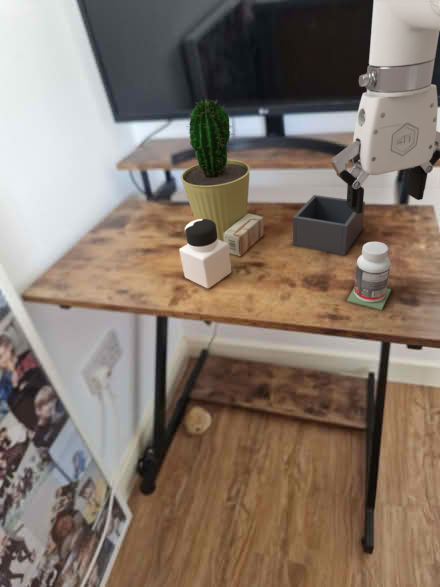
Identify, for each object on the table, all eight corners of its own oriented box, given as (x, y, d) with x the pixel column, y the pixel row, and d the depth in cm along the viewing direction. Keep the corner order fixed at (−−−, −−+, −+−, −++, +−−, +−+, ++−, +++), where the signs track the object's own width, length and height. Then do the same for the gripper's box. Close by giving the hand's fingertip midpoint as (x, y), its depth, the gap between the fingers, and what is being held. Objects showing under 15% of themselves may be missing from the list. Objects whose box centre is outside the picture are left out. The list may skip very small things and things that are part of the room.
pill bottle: (354, 283, 75) (359, 238, 69) (385, 286, 73) (393, 240, 67) (352, 301, 71) (357, 254, 65) (385, 305, 69) (393, 257, 63)
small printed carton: (239, 237, 85) (263, 215, 91) (222, 233, 87) (246, 212, 93) (241, 257, 88) (264, 235, 94) (224, 253, 90) (248, 231, 96)
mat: (390, 290, 73) (391, 288, 73) (381, 310, 69) (382, 308, 69) (357, 282, 76) (357, 281, 75) (347, 301, 72) (347, 299, 72)
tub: (362, 229, 91) (365, 201, 87) (344, 255, 83) (347, 226, 79) (313, 221, 96) (313, 194, 92) (293, 245, 89) (292, 217, 85)
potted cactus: (218, 255, 89) (197, 111, 71) (179, 233, 100) (152, 103, 81) (267, 228, 96) (260, 91, 78) (226, 210, 106) (212, 85, 88)
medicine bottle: (232, 272, 83) (226, 220, 76) (208, 289, 80) (199, 236, 72) (208, 262, 88) (200, 211, 80) (184, 278, 84) (173, 226, 77)
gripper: (349, 95, 47) (342, 226, 57) (482, 68, 49) (453, 200, 59) (322, 86, 53) (320, 206, 63) (442, 62, 55) (421, 183, 65)
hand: (384, 203), depth 61 cm, fingers open, 9 cm apart
